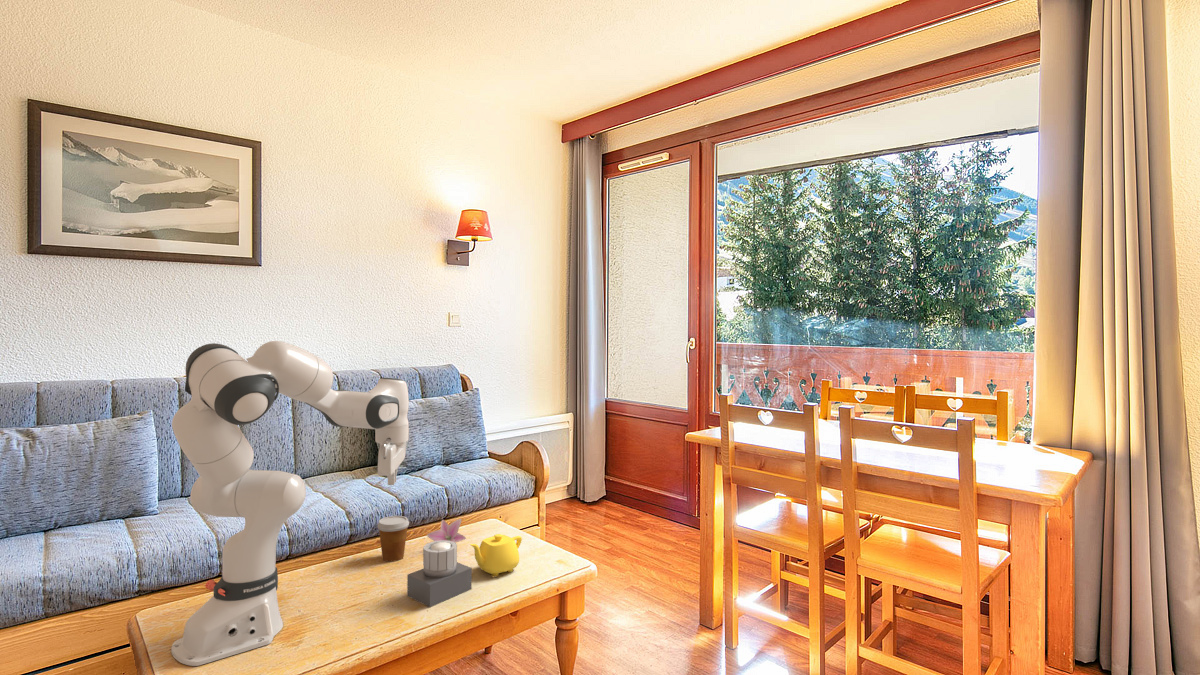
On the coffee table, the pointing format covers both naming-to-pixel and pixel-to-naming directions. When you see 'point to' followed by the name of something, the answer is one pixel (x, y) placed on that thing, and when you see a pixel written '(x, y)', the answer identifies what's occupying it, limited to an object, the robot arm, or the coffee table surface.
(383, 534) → the disposable coffee cup
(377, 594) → the coffee table surface
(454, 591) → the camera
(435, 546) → the white egg
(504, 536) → the teapot
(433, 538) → the lily
